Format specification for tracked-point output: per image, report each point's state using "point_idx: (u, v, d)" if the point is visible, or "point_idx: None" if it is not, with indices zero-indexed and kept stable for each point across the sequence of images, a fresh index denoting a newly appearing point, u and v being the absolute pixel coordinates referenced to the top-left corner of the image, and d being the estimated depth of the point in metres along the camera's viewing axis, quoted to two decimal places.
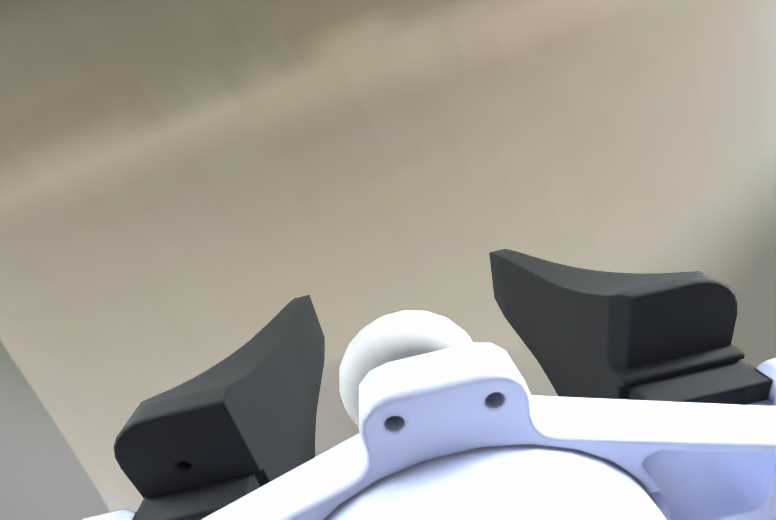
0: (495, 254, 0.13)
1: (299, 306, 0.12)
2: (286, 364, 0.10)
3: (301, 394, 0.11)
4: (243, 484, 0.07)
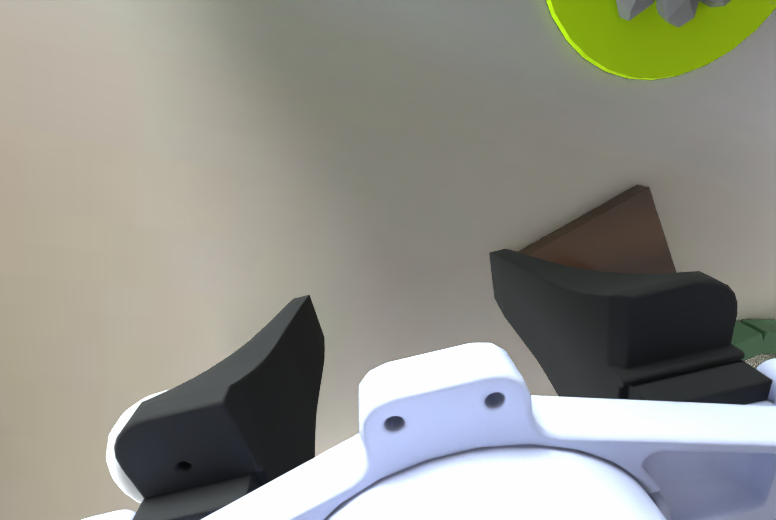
0: (495, 254, 0.13)
1: (299, 306, 0.12)
2: (286, 364, 0.10)
3: (301, 394, 0.11)
4: (243, 484, 0.07)
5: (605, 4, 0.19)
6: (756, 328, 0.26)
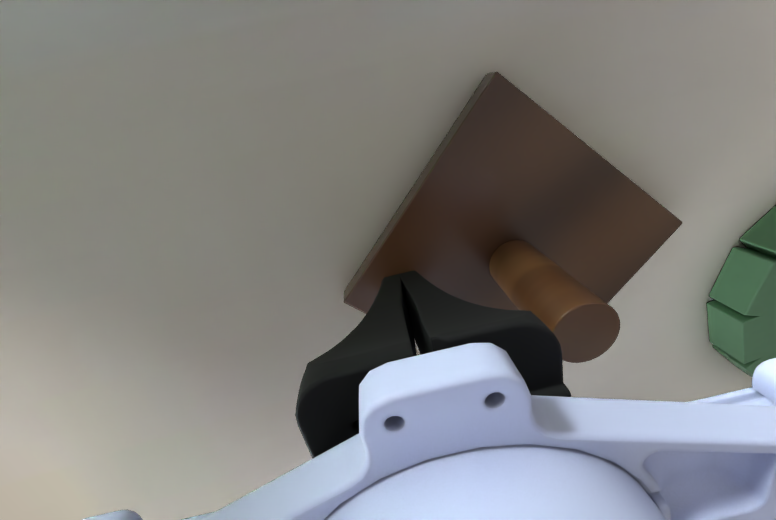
0: (400, 276, 0.13)
1: (399, 282, 0.12)
2: None
3: None
4: None
5: None
6: None
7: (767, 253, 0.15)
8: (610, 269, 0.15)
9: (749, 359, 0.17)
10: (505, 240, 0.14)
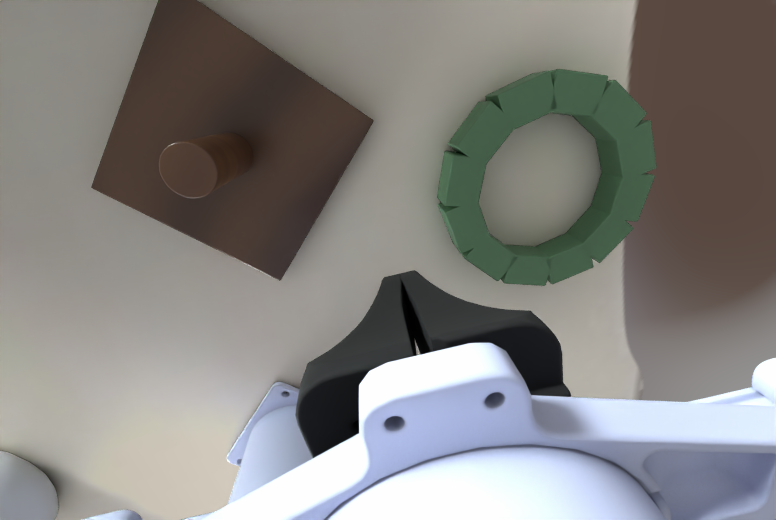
0: (400, 276, 0.13)
1: (399, 282, 0.12)
2: None
3: None
4: None
5: None
6: (493, 98, 0.17)
7: (459, 151, 0.18)
8: (321, 163, 0.18)
9: (463, 248, 0.20)
10: (219, 133, 0.17)
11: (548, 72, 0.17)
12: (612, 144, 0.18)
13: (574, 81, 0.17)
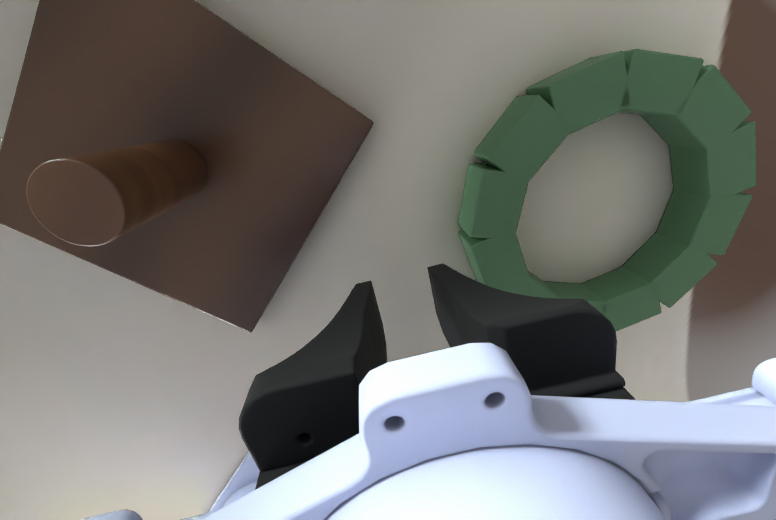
0: (430, 269, 0.13)
1: (367, 289, 0.12)
2: (370, 344, 0.10)
3: None
4: None
5: None
6: (539, 91, 0.13)
7: (491, 164, 0.13)
8: (303, 180, 0.13)
9: None
10: (157, 140, 0.12)
11: (621, 53, 0.12)
12: (697, 154, 0.14)
13: (657, 66, 0.12)
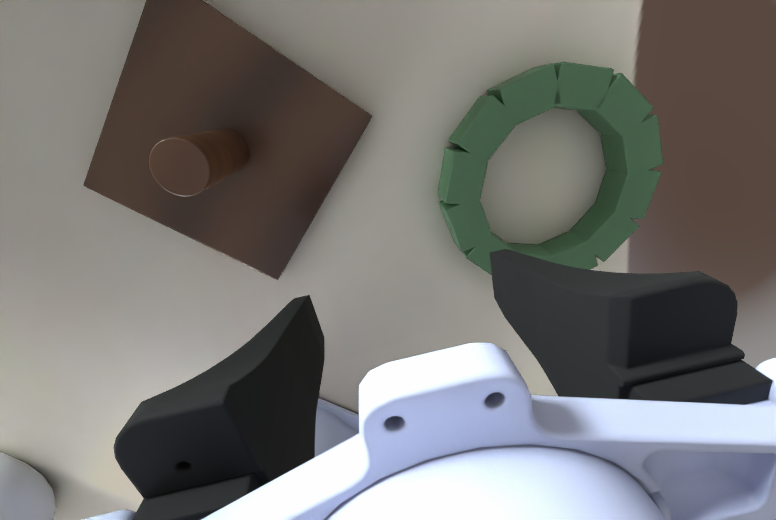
0: (495, 254, 0.13)
1: (299, 306, 0.12)
2: (286, 364, 0.10)
3: (301, 394, 0.11)
4: (243, 484, 0.07)
5: None
6: (495, 92, 0.17)
7: (460, 147, 0.18)
8: (319, 159, 0.18)
9: (464, 247, 0.19)
10: (213, 129, 0.17)
11: (552, 65, 0.16)
12: (617, 140, 0.18)
13: (579, 74, 0.16)
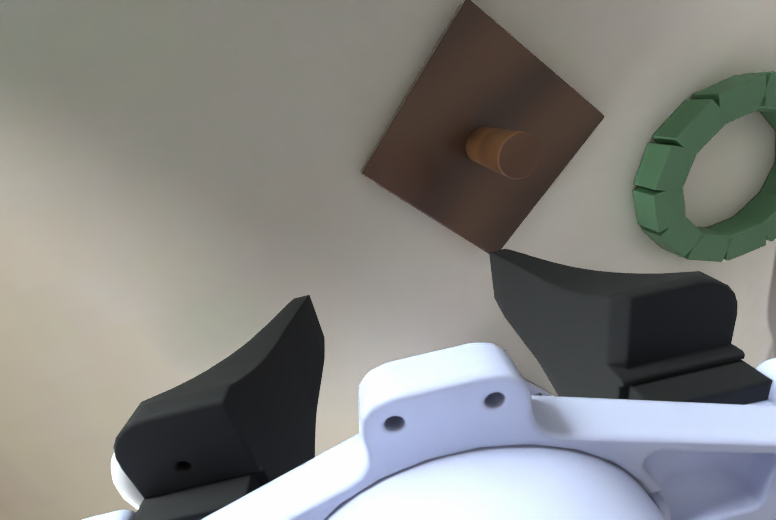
0: (495, 254, 0.13)
1: (299, 306, 0.12)
2: (286, 364, 0.10)
3: (301, 394, 0.11)
4: (243, 484, 0.07)
5: None
6: (708, 96, 0.20)
7: (669, 143, 0.21)
8: (554, 152, 0.21)
9: (661, 228, 0.22)
10: (477, 126, 0.20)
11: (765, 74, 0.19)
12: None
13: None
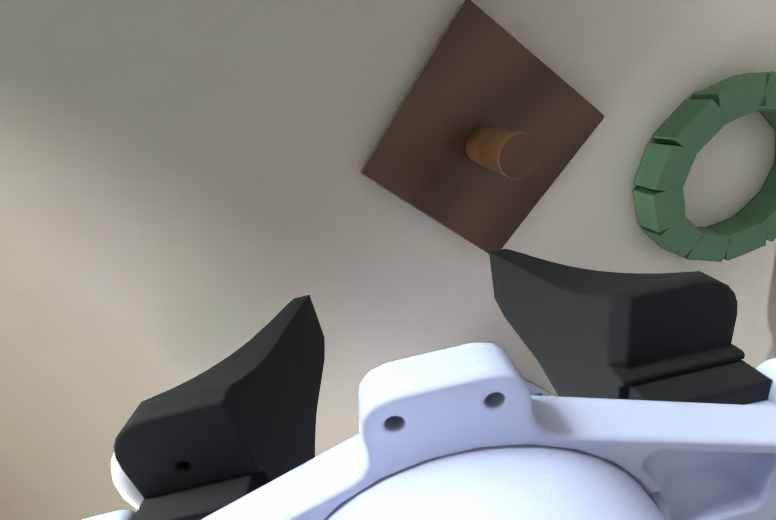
0: (495, 254, 0.13)
1: (299, 306, 0.12)
2: (286, 364, 0.10)
3: (301, 394, 0.11)
4: (243, 484, 0.07)
5: None
6: (708, 96, 0.20)
7: (669, 143, 0.21)
8: (554, 152, 0.21)
9: (661, 228, 0.22)
10: (477, 126, 0.20)
11: (765, 74, 0.19)
12: None
13: None
